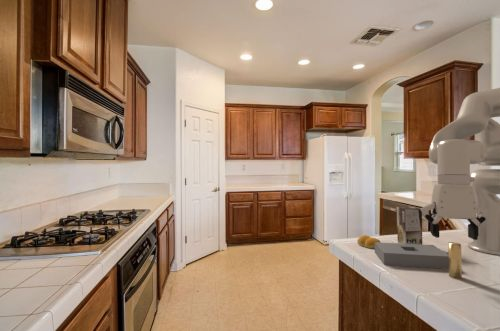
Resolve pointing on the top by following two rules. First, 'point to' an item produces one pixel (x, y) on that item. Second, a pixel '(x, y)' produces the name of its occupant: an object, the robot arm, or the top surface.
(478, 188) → the robot arm
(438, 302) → the top surface
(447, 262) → the hole block
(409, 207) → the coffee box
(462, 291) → the top surface
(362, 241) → the bread roll
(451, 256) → the brass peg
